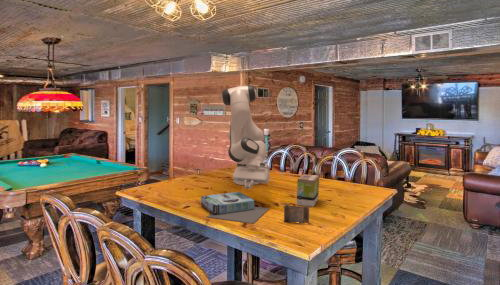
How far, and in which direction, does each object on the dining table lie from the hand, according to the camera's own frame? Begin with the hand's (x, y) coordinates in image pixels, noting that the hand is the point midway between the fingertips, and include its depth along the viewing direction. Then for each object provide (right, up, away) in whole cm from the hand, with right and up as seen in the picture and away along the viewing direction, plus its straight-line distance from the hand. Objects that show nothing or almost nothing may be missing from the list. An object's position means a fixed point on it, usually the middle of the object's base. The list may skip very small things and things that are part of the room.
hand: (247, 187), depth 175 cm
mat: (-4, -11, -9) cm, 15 cm away
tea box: (+34, -10, +11) cm, 37 cm away
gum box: (0, -7, +5) cm, 9 cm away
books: (+23, -14, -21) cm, 34 cm away
